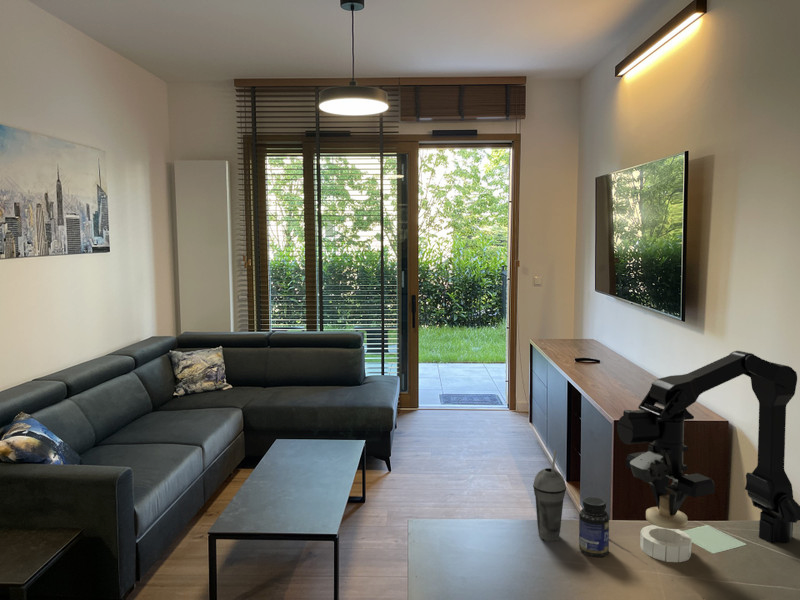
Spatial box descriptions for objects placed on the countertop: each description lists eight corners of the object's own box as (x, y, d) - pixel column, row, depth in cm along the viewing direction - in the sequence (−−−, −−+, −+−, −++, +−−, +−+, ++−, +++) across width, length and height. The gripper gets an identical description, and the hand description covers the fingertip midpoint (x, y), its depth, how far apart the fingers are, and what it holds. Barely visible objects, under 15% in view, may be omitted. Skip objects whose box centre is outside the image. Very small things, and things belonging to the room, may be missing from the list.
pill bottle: (610, 559, 124) (611, 508, 123) (580, 556, 125) (581, 505, 124) (606, 544, 130) (607, 496, 129) (577, 542, 131) (578, 494, 130)
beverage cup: (531, 528, 138) (531, 444, 136) (563, 529, 137) (564, 445, 135) (533, 543, 131) (534, 455, 129) (567, 545, 130) (568, 456, 128)
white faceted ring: (664, 539, 132) (665, 522, 132) (700, 559, 123) (701, 541, 123) (630, 547, 128) (631, 529, 128) (665, 569, 120) (666, 550, 119)
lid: (665, 509, 130) (666, 487, 130) (696, 524, 123) (696, 501, 123) (637, 515, 127) (638, 493, 127) (666, 532, 120) (667, 508, 120)
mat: (707, 528, 137) (707, 524, 137) (746, 548, 128) (747, 544, 128) (674, 536, 133) (674, 532, 133) (713, 557, 124) (713, 553, 124)
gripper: (606, 432, 129) (605, 501, 131) (675, 459, 112) (673, 539, 113) (645, 426, 134) (644, 493, 135) (717, 451, 116) (715, 528, 118)
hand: (666, 512), depth 125 cm, fingers closed on lid, 3 cm apart
